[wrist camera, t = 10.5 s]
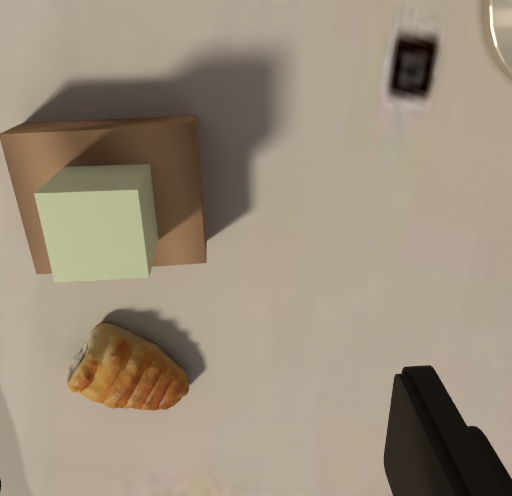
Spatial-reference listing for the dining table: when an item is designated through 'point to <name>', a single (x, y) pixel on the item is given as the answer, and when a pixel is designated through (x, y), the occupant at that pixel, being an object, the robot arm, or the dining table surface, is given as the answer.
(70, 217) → the green cube
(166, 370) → the pastry
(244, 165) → the dining table surface
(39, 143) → the walnut block
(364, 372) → the dining table surface
